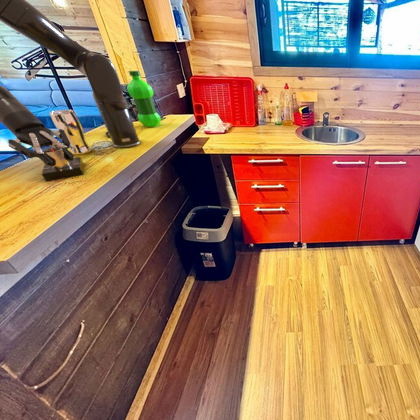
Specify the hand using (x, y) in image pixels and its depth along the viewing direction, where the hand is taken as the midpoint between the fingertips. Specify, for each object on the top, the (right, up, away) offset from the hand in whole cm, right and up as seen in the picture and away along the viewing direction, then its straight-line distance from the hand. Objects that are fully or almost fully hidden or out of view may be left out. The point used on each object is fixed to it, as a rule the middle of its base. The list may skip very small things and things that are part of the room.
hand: (62, 161), depth 81 cm
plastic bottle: (-6, +28, +51) cm, 59 cm away
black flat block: (-3, -3, +4) cm, 6 cm away
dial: (-2, -1, +2) cm, 3 cm away
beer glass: (-12, +7, +19) cm, 23 cm away
